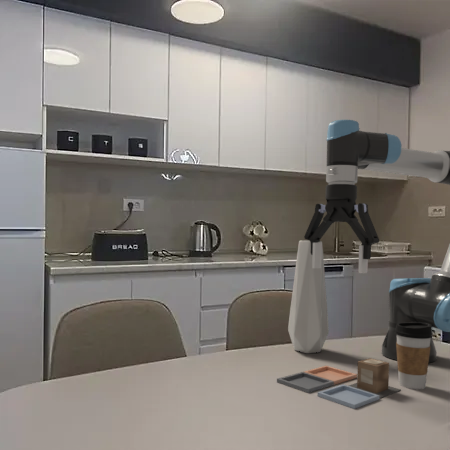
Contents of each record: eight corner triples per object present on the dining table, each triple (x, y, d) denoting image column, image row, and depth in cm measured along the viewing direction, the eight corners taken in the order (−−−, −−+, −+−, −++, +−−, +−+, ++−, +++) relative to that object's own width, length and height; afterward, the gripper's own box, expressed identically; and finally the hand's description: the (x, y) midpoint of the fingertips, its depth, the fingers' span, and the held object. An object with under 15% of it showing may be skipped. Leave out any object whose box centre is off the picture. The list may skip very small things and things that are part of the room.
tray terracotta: (326, 370, 132) (326, 365, 132) (356, 379, 125) (357, 374, 125) (302, 376, 126) (302, 371, 126) (333, 386, 119) (334, 381, 119)
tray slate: (342, 389, 117) (343, 384, 117) (379, 400, 110) (379, 395, 110) (317, 397, 111) (317, 392, 111) (354, 410, 104) (354, 404, 104)
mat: (366, 382, 123) (366, 379, 123) (400, 392, 116) (400, 389, 116) (344, 389, 117) (344, 386, 117) (379, 400, 110) (379, 397, 110)
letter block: (369, 383, 120) (370, 357, 120) (388, 389, 116) (389, 362, 116) (356, 387, 117) (357, 361, 117) (376, 393, 113) (376, 366, 113)
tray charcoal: (302, 376, 126) (302, 371, 126) (333, 386, 119) (333, 381, 119) (276, 383, 120) (276, 378, 120) (308, 394, 113) (308, 389, 113)
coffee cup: (434, 394, 116) (436, 328, 116) (395, 390, 117) (397, 325, 117) (427, 382, 124) (429, 321, 124) (391, 379, 125) (392, 319, 125)
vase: (278, 349, 153) (281, 240, 153) (302, 343, 161) (305, 240, 160) (310, 358, 144) (313, 241, 144) (334, 351, 152) (337, 241, 151)
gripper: (292, 184, 131) (290, 266, 132) (378, 180, 113) (375, 276, 113) (310, 186, 136) (308, 265, 137) (395, 183, 118) (393, 274, 118)
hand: (338, 270), depth 125 cm, fingers open, 13 cm apart
